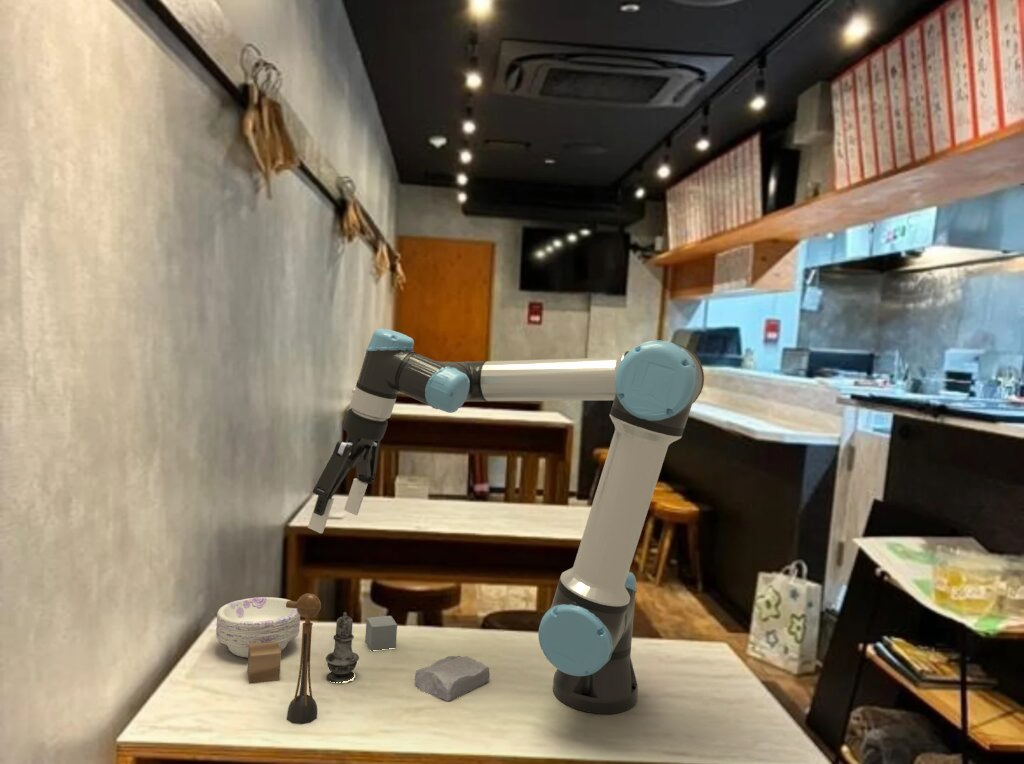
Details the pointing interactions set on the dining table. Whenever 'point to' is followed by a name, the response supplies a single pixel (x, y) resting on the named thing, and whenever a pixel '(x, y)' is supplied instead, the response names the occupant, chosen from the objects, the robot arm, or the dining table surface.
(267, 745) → the dining table surface
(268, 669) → the walnut cube
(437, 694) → the stone block
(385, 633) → the slate cube
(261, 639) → the paper bowls
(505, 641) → the dining table surface
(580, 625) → the robot arm
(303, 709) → the wooden tabletop sculpture
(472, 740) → the dining table surface
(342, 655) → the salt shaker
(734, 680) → the dining table surface
